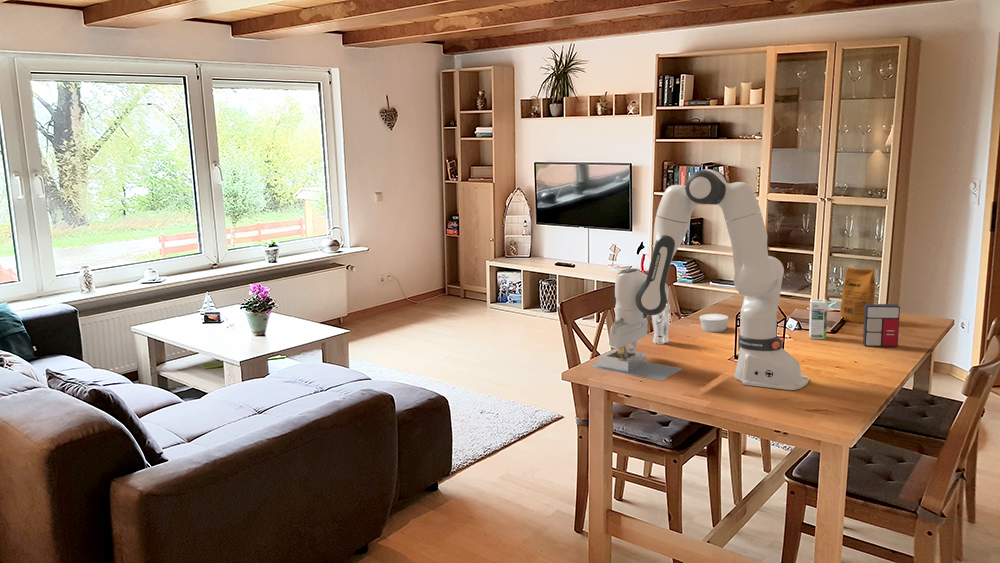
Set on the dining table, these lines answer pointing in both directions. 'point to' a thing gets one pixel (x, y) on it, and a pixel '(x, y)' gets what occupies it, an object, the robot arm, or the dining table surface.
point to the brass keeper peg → (621, 353)
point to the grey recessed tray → (621, 361)
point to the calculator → (881, 325)
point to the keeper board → (650, 371)
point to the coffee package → (857, 293)
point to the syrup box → (818, 319)
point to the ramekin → (714, 322)
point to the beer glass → (661, 325)
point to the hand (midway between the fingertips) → (628, 354)
